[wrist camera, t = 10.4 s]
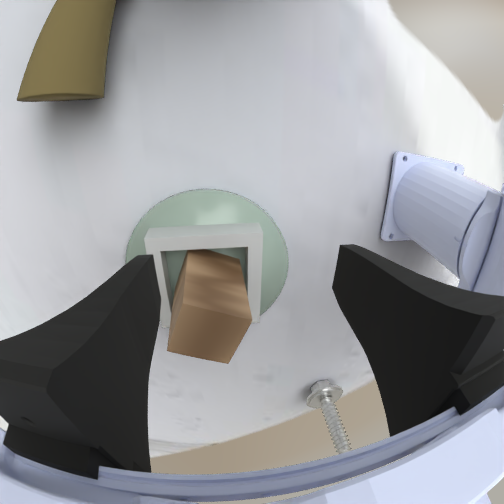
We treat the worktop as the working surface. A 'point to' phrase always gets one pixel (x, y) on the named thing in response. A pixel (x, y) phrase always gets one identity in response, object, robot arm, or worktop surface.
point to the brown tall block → (209, 307)
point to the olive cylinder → (70, 53)
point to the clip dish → (213, 243)
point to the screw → (330, 411)
